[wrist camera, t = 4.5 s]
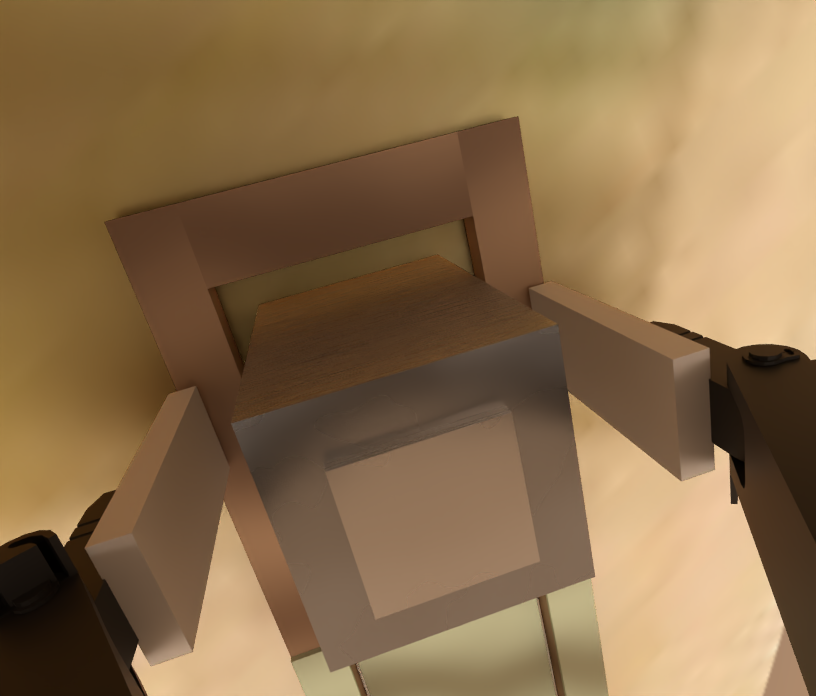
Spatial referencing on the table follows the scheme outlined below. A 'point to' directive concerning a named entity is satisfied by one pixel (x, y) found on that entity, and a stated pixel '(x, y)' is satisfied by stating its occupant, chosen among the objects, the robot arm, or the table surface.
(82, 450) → the table surface
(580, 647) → the brown rectangular frame
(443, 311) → the block
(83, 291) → the table surface
